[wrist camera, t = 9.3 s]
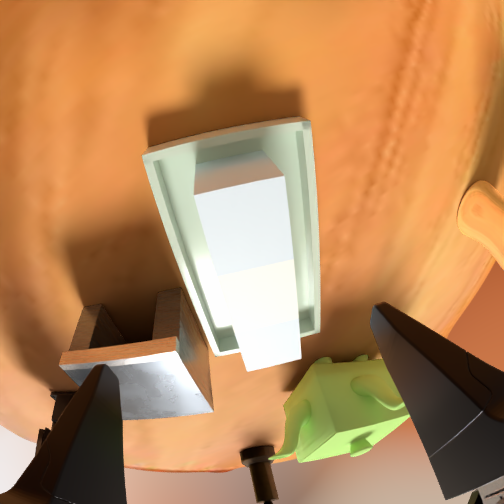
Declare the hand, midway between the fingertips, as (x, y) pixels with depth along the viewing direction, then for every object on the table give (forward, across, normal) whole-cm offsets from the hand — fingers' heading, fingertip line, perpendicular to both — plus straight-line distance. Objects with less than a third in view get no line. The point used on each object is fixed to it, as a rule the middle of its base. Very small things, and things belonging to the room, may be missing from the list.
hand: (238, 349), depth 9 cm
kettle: (+12, -8, +24) cm, 28 cm away
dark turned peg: (+12, +4, +49) cm, 51 cm away
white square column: (+11, -1, +4) cm, 12 cm away
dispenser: (+12, +8, +10) cm, 18 cm away
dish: (+12, -1, +4) cm, 12 cm away
